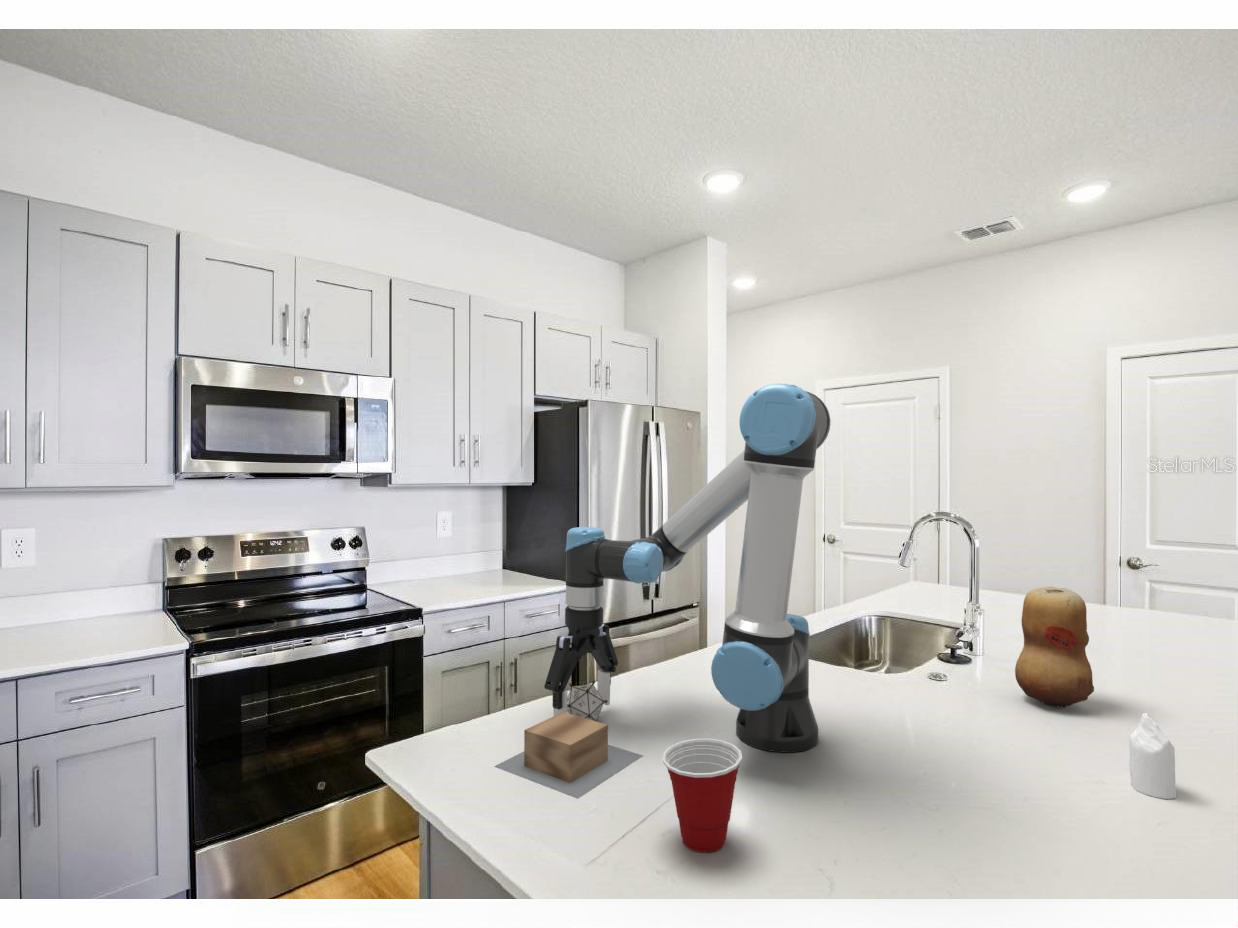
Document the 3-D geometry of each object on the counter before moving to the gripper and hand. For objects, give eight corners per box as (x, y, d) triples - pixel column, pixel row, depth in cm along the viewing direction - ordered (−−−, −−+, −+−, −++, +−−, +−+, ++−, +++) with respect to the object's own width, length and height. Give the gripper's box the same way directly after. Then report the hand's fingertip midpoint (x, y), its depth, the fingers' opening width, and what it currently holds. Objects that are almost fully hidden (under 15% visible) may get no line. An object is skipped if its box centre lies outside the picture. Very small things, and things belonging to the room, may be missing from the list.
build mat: (643, 758, 113) (643, 755, 113) (577, 802, 98) (577, 798, 98) (564, 733, 123) (564, 730, 123) (494, 769, 109) (494, 766, 109)
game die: (590, 746, 127) (599, 716, 121) (551, 727, 128) (558, 697, 123) (607, 710, 134) (616, 680, 128) (570, 692, 135) (577, 662, 130)
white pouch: (1186, 721, 100) (1148, 721, 100) (1185, 799, 99) (1148, 799, 100) (1154, 707, 106) (1119, 706, 106) (1154, 780, 105) (1119, 780, 106)
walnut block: (607, 759, 111) (607, 724, 111) (570, 782, 103) (570, 744, 103) (563, 745, 117) (563, 711, 117) (524, 765, 109) (524, 730, 109)
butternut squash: (1021, 711, 136) (1022, 591, 136) (1010, 690, 148) (1010, 581, 148) (1102, 721, 130) (1102, 596, 130) (1083, 699, 143) (1083, 585, 143)
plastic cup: (656, 820, 93) (656, 736, 93) (730, 817, 94) (730, 734, 94) (668, 867, 82) (668, 772, 82) (752, 863, 83) (752, 769, 83)
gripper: (606, 593, 141) (605, 691, 141) (526, 614, 120) (524, 729, 120) (635, 598, 136) (634, 699, 136) (557, 620, 116) (555, 739, 116)
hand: (582, 713), depth 128 cm, fingers open, 13 cm apart
